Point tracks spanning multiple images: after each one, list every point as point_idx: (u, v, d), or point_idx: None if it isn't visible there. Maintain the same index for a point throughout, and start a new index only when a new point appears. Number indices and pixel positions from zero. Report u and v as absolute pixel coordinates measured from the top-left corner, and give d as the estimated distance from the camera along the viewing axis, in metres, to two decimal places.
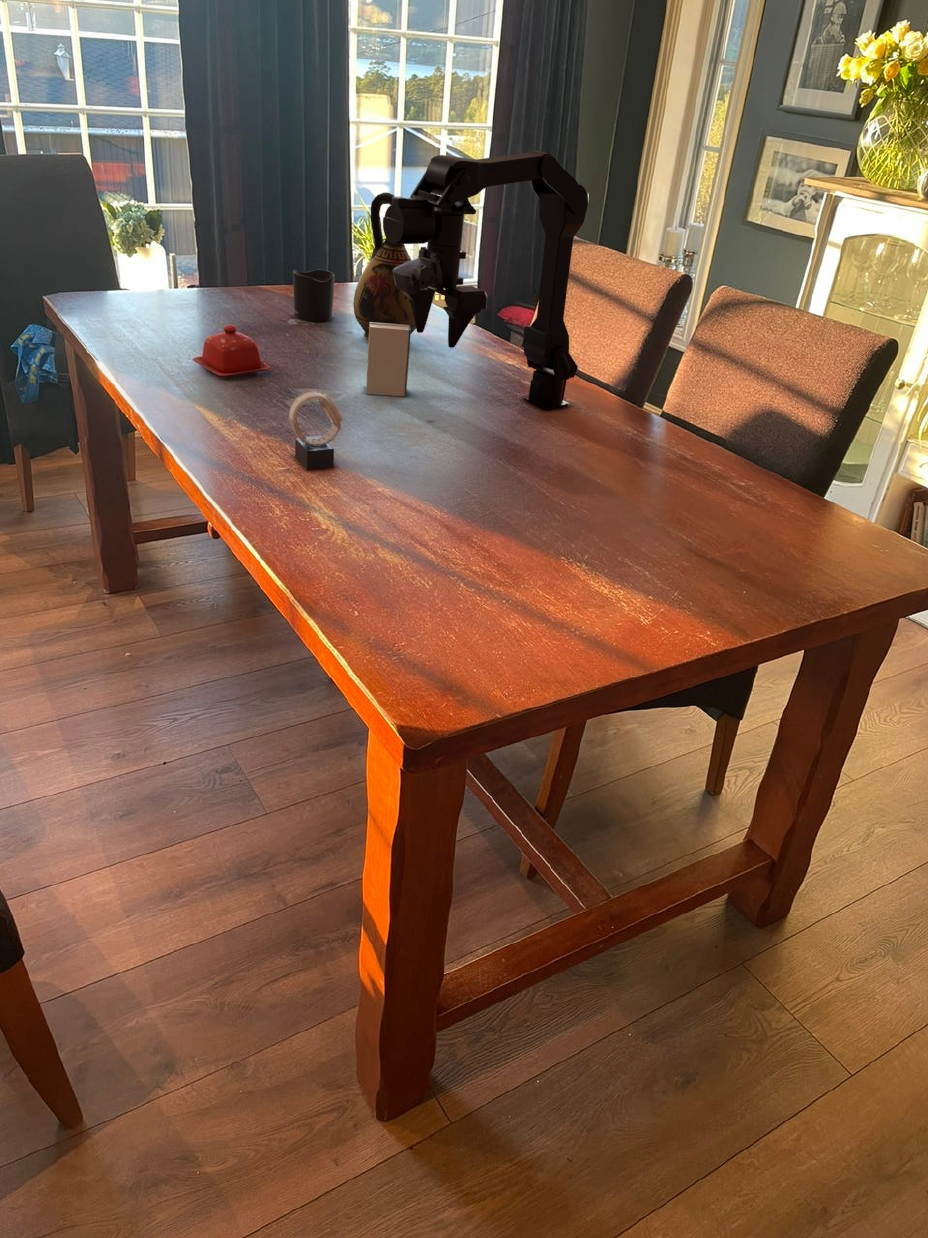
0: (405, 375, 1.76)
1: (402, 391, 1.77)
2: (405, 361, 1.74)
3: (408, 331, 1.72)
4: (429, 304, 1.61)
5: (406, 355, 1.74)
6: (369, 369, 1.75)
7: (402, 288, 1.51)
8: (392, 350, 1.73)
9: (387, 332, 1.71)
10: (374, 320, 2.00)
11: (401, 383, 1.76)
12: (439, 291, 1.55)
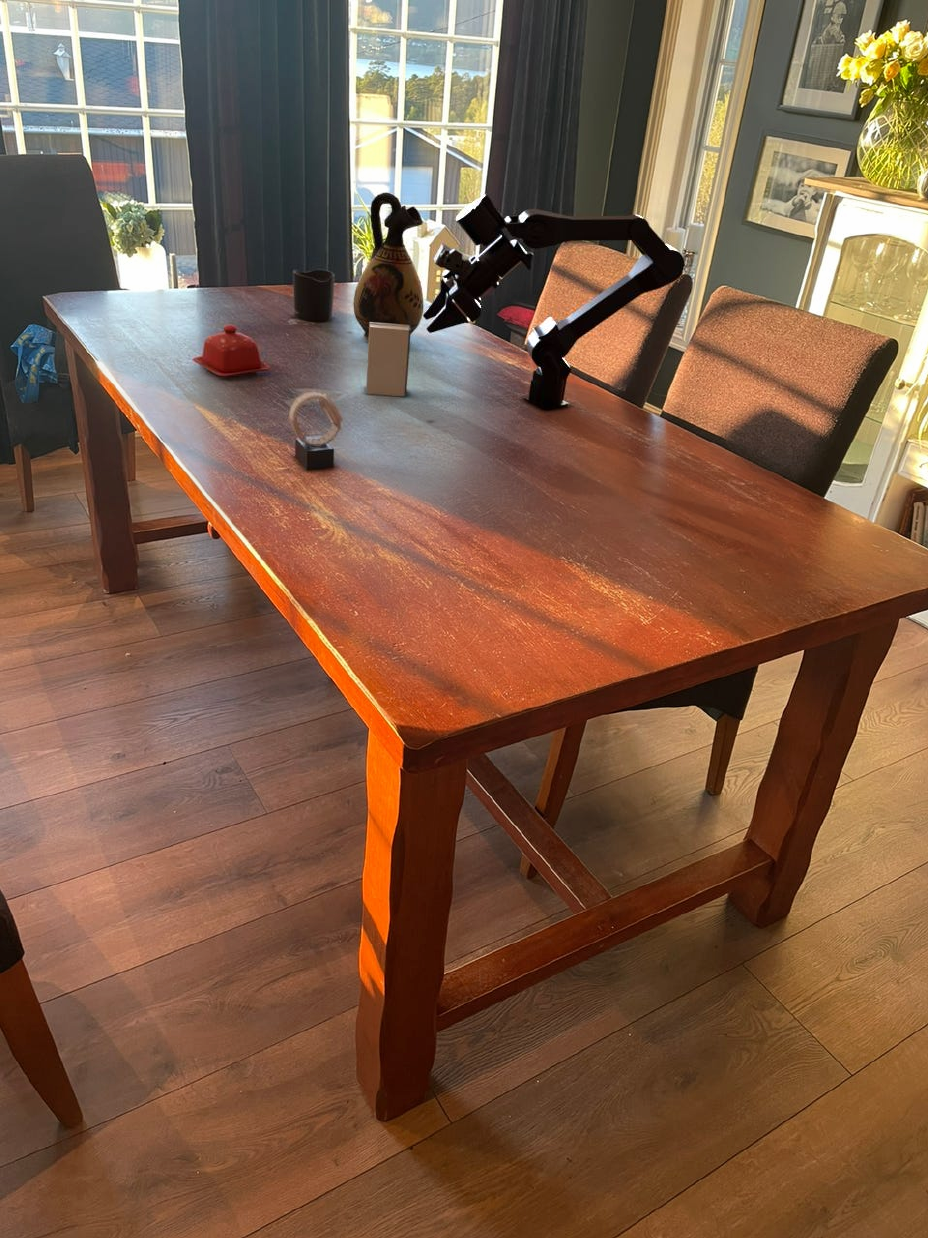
0: (405, 375, 1.76)
1: (402, 391, 1.77)
2: (405, 361, 1.74)
3: (408, 331, 1.72)
4: None
5: (406, 355, 1.74)
6: (369, 369, 1.75)
7: (435, 257, 1.67)
8: (392, 350, 1.73)
9: (387, 332, 1.71)
10: (374, 320, 2.00)
11: (401, 383, 1.76)
12: None
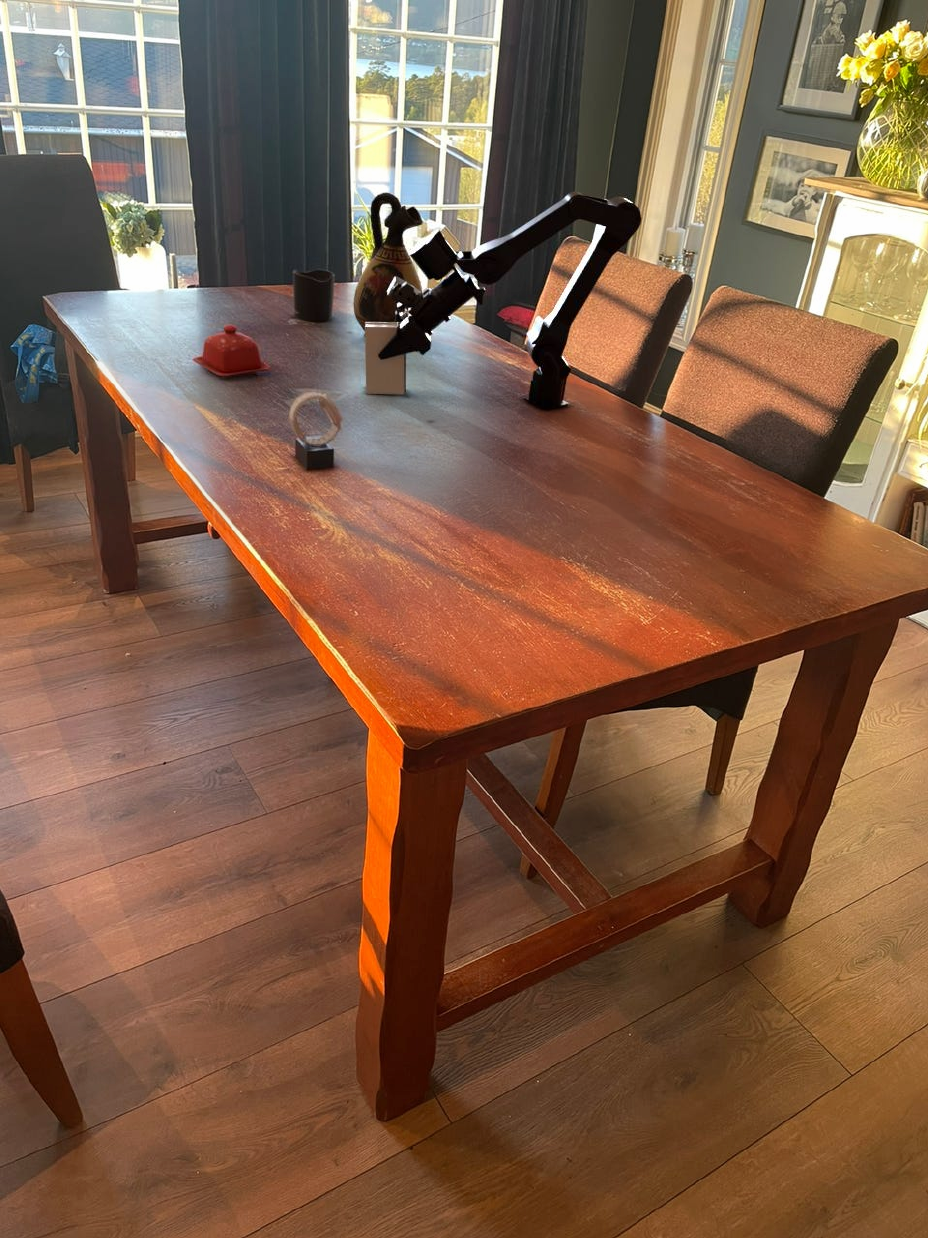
0: (403, 373, 1.75)
1: (402, 389, 1.77)
2: (402, 359, 1.74)
3: None
4: None
5: None
6: (367, 369, 1.74)
7: (388, 290, 1.69)
8: None
9: (382, 331, 1.71)
10: (374, 320, 2.00)
11: (400, 381, 1.76)
12: None
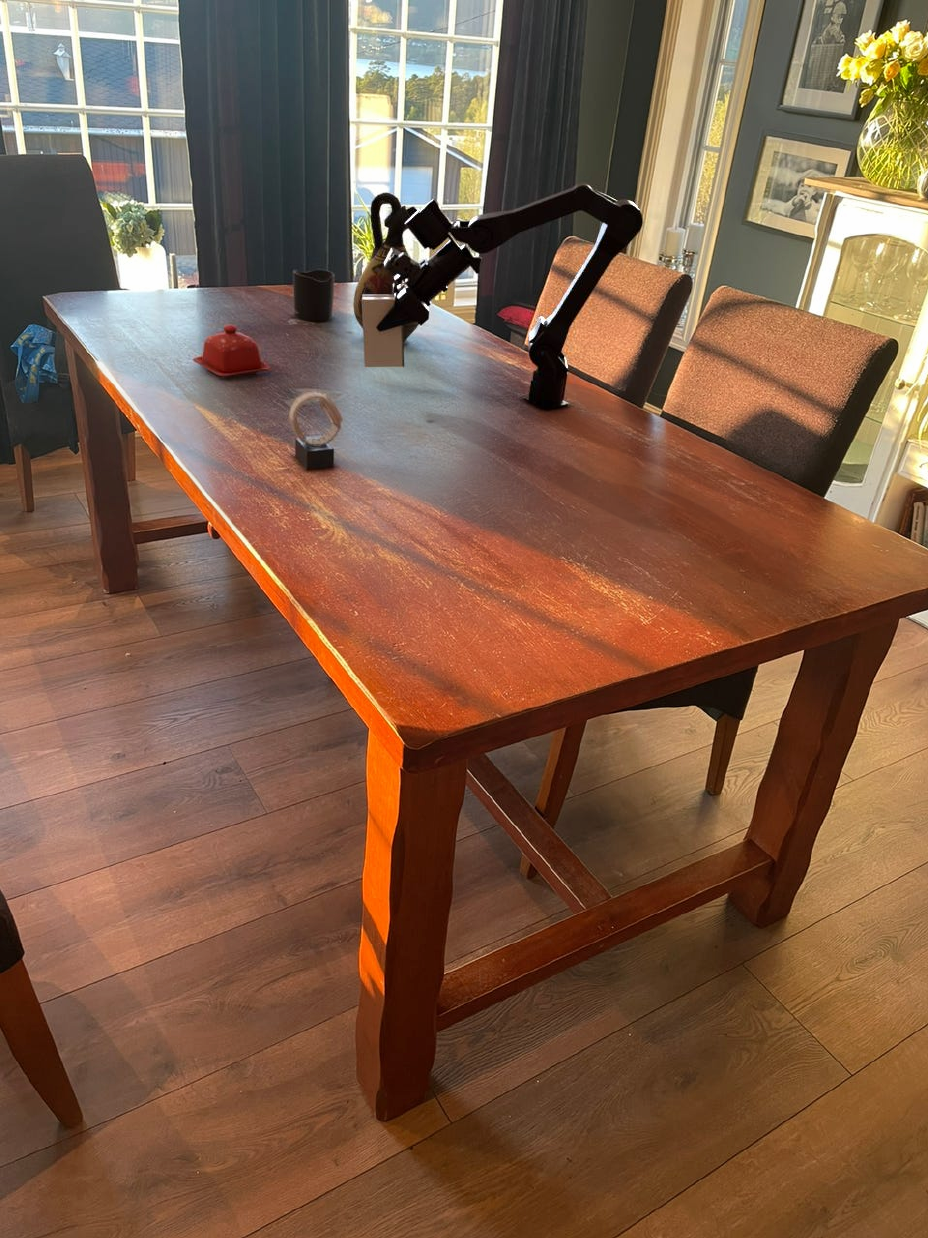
0: (401, 345, 1.75)
1: (400, 362, 1.77)
2: (400, 331, 1.74)
3: None
4: None
5: None
6: (365, 342, 1.75)
7: (385, 261, 1.69)
8: None
9: (379, 303, 1.71)
10: None
11: (398, 354, 1.76)
12: None
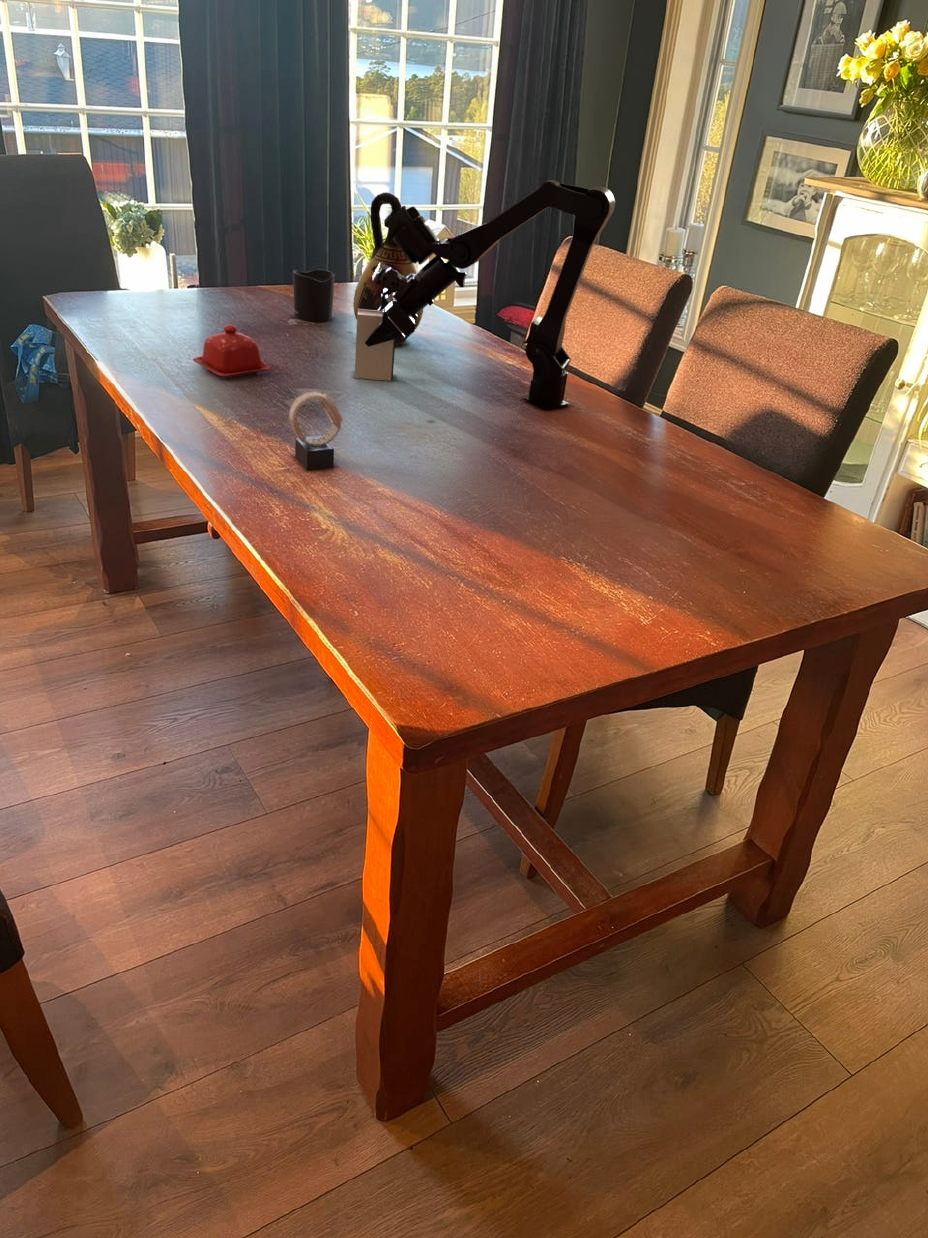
0: (392, 360, 1.83)
1: (389, 376, 1.85)
2: (391, 347, 1.81)
3: None
4: None
5: (392, 341, 1.81)
6: (357, 354, 1.82)
7: (373, 275, 1.76)
8: None
9: (374, 319, 1.78)
10: None
11: (388, 368, 1.84)
12: None
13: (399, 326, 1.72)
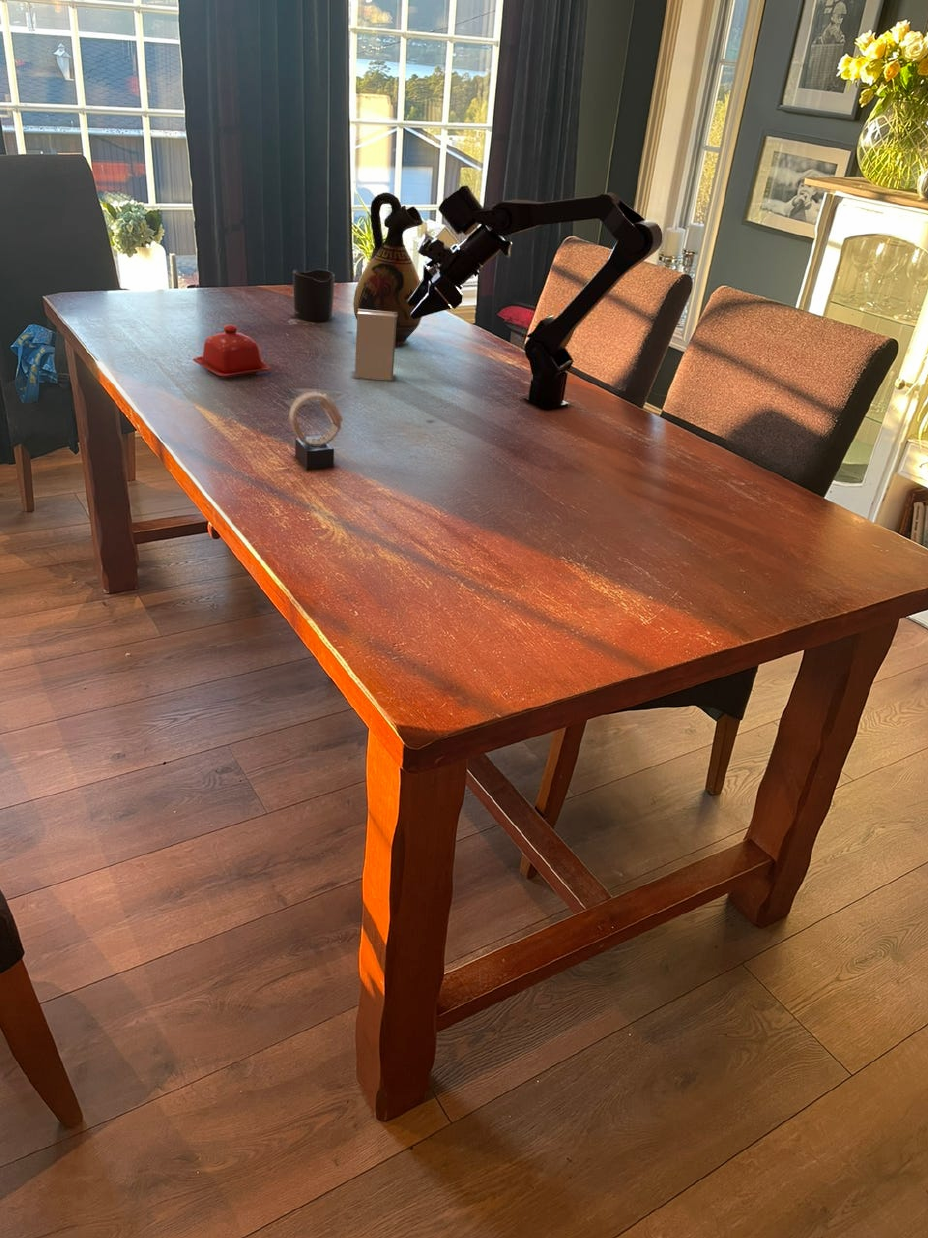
0: (392, 360, 1.83)
1: (389, 376, 1.85)
2: (391, 346, 1.82)
3: (394, 317, 1.79)
4: None
5: (392, 341, 1.81)
6: (357, 354, 1.82)
7: (418, 246, 1.73)
8: (379, 336, 1.80)
9: (374, 318, 1.79)
10: None
11: (388, 368, 1.84)
12: None
13: (447, 297, 1.70)
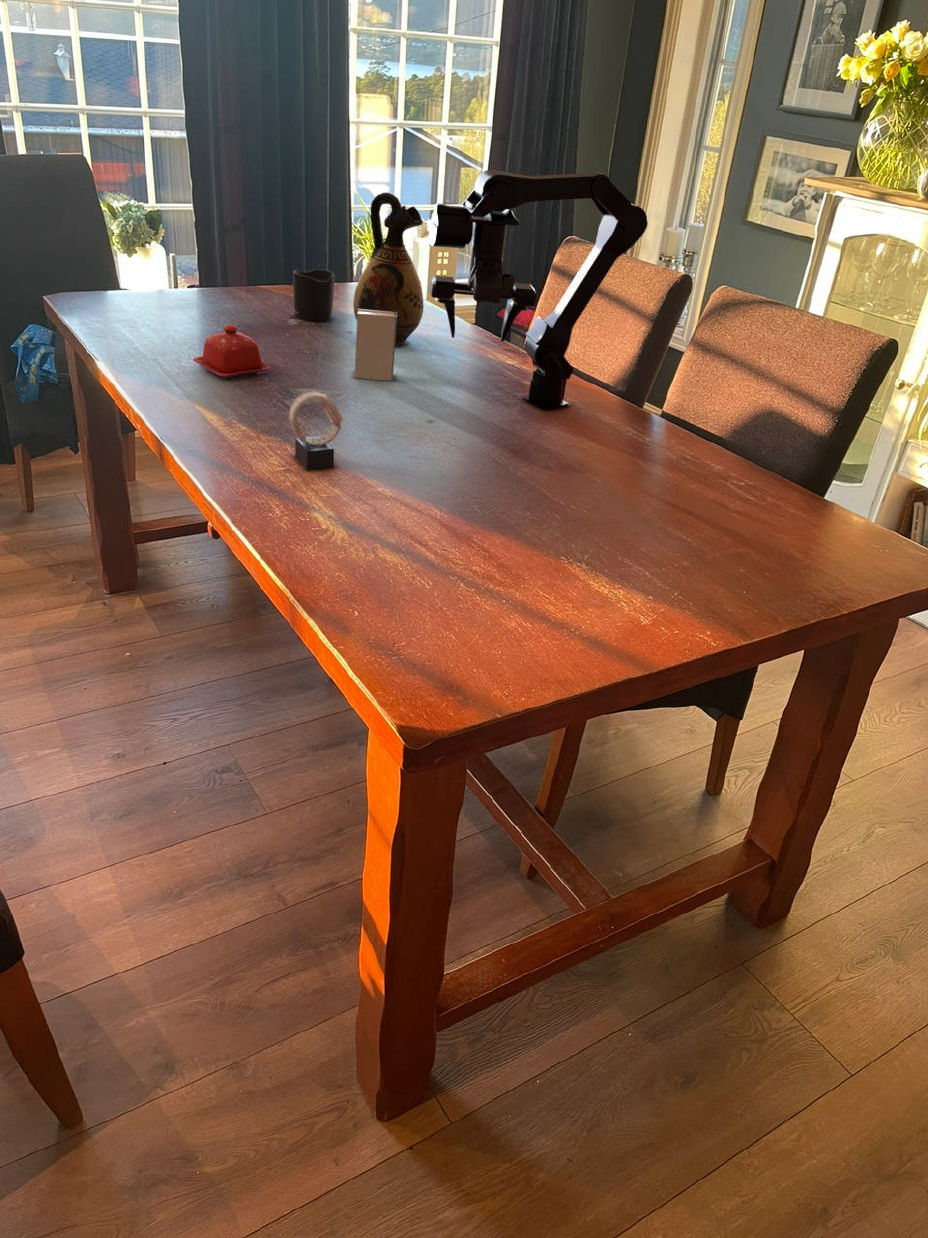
0: (392, 360, 1.83)
1: (389, 376, 1.85)
2: (391, 346, 1.82)
3: (394, 317, 1.79)
4: None
5: (392, 341, 1.81)
6: (357, 354, 1.82)
7: (489, 299, 1.62)
8: (379, 336, 1.80)
9: (374, 318, 1.79)
10: None
11: (388, 368, 1.84)
12: None
13: None
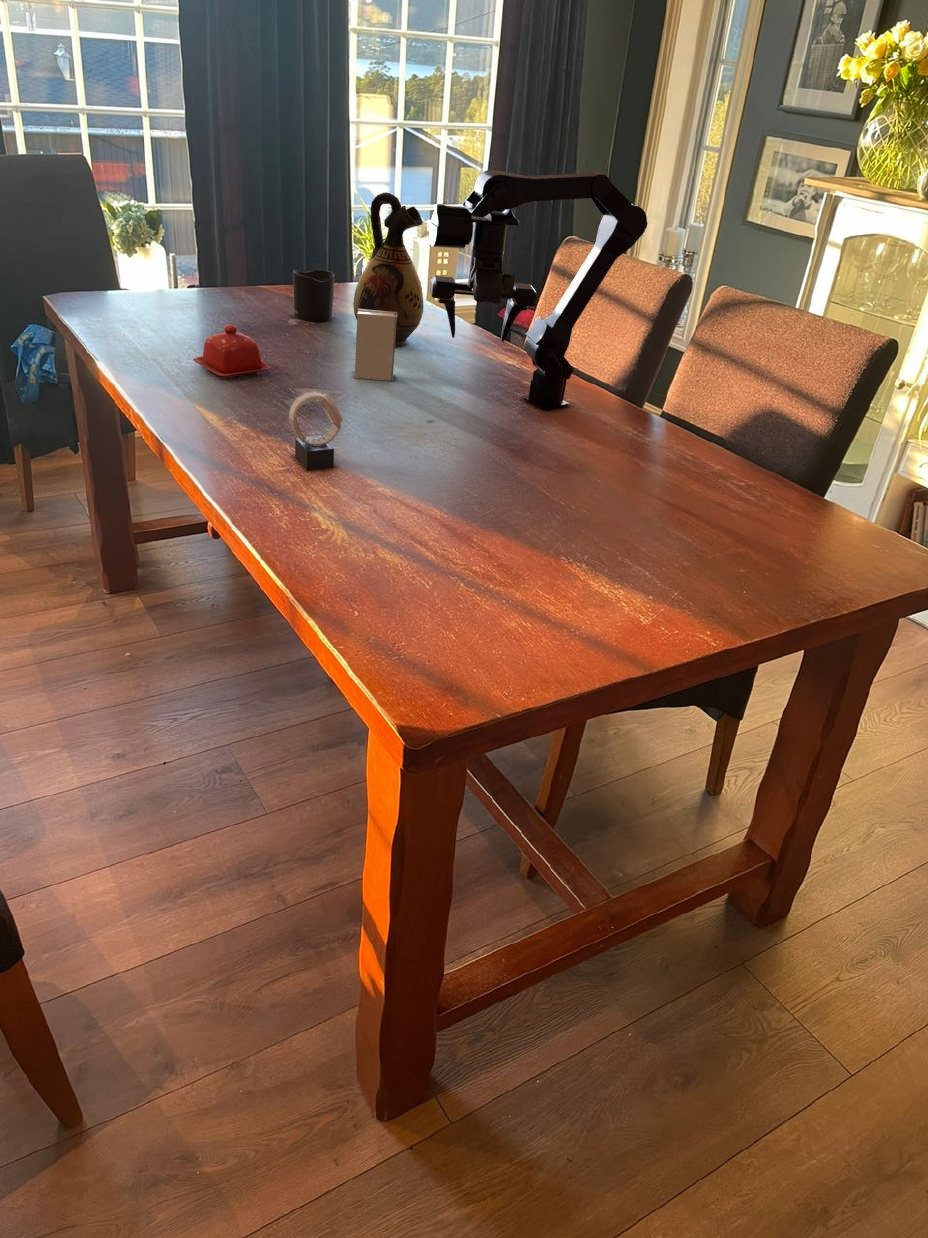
0: (392, 360, 1.83)
1: (389, 376, 1.85)
2: (391, 346, 1.82)
3: (394, 317, 1.79)
4: None
5: (392, 341, 1.81)
6: (357, 354, 1.82)
7: (489, 299, 1.62)
8: (379, 336, 1.80)
9: (374, 318, 1.79)
10: None
11: (388, 368, 1.84)
12: None
13: None
